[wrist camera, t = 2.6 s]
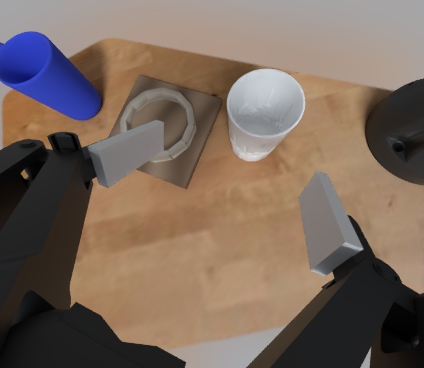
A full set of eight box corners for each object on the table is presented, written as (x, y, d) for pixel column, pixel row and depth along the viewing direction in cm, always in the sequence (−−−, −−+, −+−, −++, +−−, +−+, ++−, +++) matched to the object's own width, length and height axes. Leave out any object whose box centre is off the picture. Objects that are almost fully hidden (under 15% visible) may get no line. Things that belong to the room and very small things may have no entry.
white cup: (217, 140, 27) (211, 100, 17) (253, 110, 27) (267, 54, 18) (249, 175, 26) (262, 153, 16) (286, 143, 26) (322, 103, 16)
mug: (69, 73, 32) (1, 13, 23) (116, 97, 31) (63, 43, 21) (45, 107, 32) (-37, 60, 22) (91, 133, 30) (24, 95, 20)
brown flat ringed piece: (222, 103, 28) (221, 92, 26) (186, 189, 26) (182, 186, 24) (142, 79, 31) (134, 67, 28) (104, 157, 29) (92, 151, 26)
